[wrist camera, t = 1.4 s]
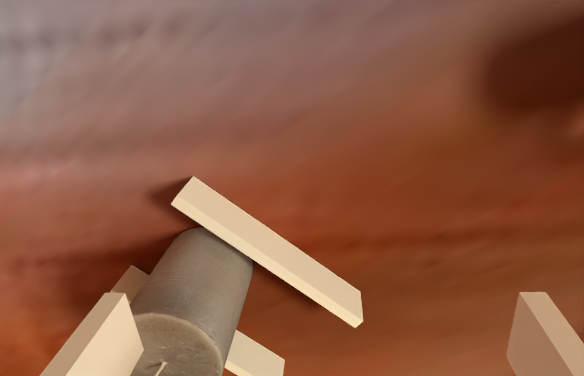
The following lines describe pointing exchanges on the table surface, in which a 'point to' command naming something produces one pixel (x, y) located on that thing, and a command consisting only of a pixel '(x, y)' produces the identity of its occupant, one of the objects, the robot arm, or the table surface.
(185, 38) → the table surface
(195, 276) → the pillar candle
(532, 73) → the table surface
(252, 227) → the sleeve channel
